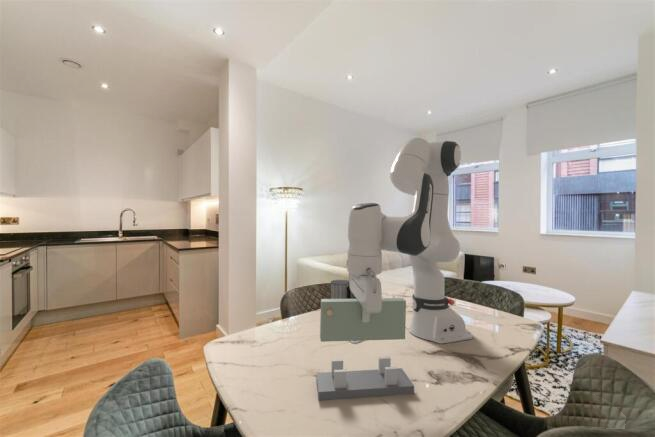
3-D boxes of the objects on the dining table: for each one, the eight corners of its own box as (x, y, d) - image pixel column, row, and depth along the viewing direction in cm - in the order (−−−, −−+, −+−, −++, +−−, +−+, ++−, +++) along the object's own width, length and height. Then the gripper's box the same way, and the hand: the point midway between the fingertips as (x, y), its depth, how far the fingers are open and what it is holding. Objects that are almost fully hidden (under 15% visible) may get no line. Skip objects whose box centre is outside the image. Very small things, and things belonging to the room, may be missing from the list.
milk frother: (328, 316, 120) (328, 283, 120) (335, 305, 135) (335, 275, 135) (360, 319, 117) (360, 285, 117) (363, 307, 132) (363, 277, 132)
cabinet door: (401, 335, 72) (402, 298, 72) (407, 341, 68) (408, 302, 68) (320, 337, 70) (320, 299, 70) (321, 344, 66) (322, 303, 66)
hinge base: (401, 375, 75) (401, 353, 75) (414, 393, 67) (414, 370, 67) (316, 380, 73) (316, 358, 73) (318, 400, 65) (318, 375, 65)
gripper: (389, 273, 60) (388, 335, 60) (366, 259, 80) (365, 305, 80) (361, 273, 59) (360, 336, 59) (345, 259, 80) (344, 306, 80)
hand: (363, 318), depth 70 cm, fingers closed on cabinet door, 2 cm apart
